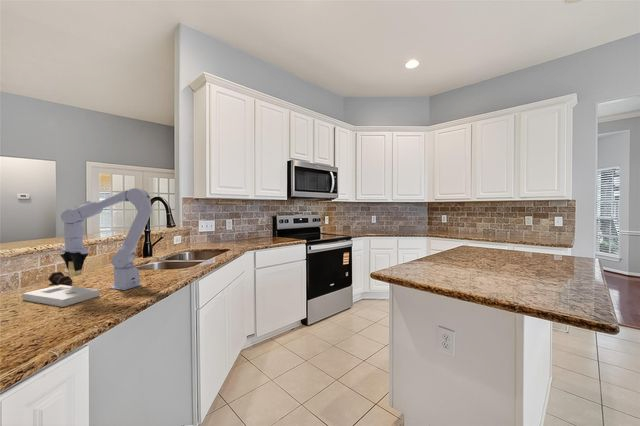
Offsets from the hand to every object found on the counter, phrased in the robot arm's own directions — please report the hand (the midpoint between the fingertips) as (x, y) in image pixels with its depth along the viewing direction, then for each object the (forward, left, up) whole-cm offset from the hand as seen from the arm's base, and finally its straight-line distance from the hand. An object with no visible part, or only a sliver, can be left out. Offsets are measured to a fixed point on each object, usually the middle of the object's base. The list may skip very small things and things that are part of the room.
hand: (74, 270), depth 114 cm
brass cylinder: (0, 0, -2) cm, 2 cm away
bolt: (+18, -5, -10) cm, 21 cm away
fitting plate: (-5, +7, -9) cm, 13 cm away
